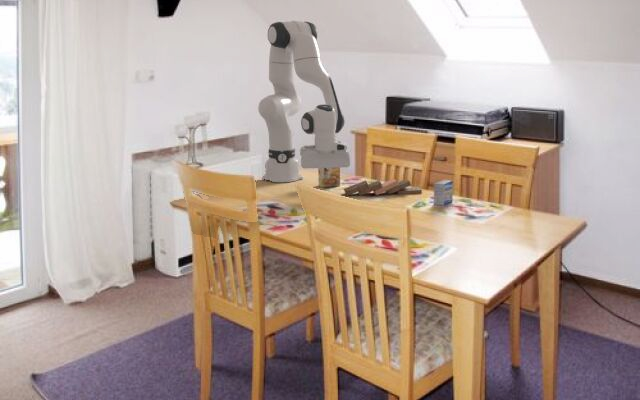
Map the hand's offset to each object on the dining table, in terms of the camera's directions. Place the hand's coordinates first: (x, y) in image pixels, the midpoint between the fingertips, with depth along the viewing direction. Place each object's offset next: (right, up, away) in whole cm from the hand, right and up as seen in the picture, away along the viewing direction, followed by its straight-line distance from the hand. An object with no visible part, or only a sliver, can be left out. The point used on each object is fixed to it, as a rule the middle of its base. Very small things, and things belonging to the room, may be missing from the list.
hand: (325, 178), depth 305 cm
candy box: (+2, -3, +18) cm, 19 cm away
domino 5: (+30, -6, +4) cm, 31 cm away
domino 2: (+14, -6, +2) cm, 15 cm away
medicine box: (+46, -10, -12) cm, 49 cm away
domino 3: (+20, -6, +2) cm, 21 cm away
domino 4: (+25, -5, +3) cm, 26 cm away
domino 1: (+8, -6, +2) cm, 10 cm away
